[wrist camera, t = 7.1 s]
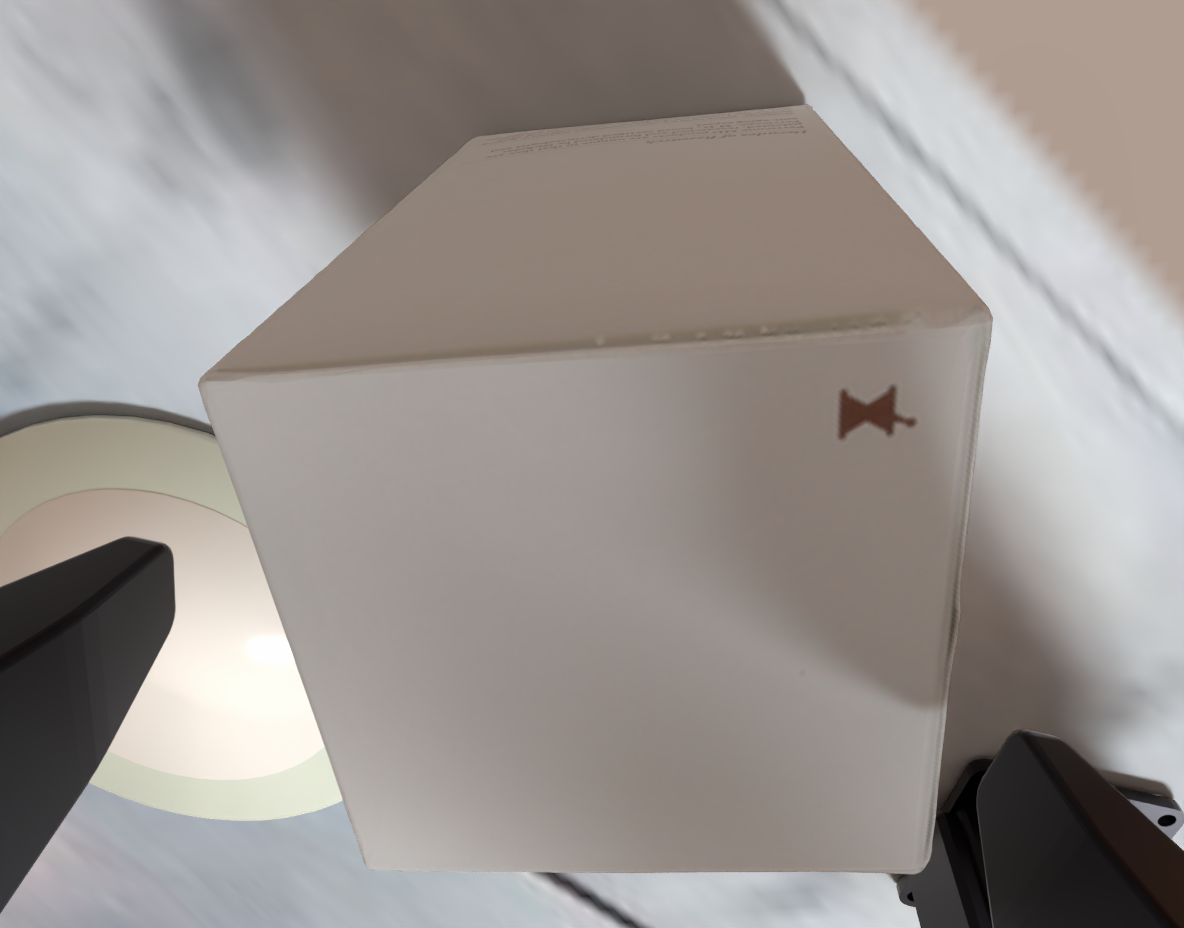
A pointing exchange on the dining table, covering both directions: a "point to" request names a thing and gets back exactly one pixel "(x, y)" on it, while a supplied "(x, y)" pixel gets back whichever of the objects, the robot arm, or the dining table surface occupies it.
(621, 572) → the supplement box
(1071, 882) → the robot arm
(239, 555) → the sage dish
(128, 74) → the dining table surface
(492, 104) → the dining table surface
